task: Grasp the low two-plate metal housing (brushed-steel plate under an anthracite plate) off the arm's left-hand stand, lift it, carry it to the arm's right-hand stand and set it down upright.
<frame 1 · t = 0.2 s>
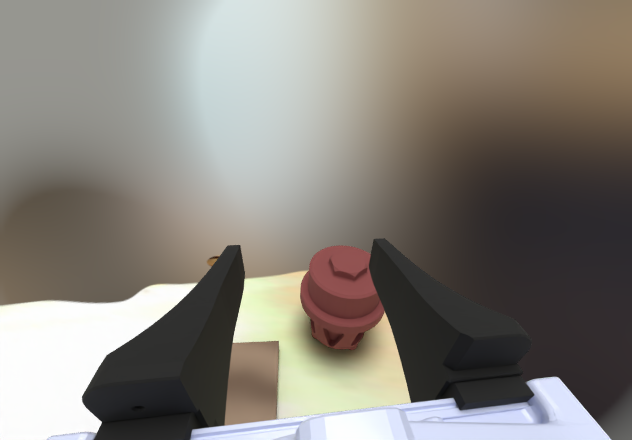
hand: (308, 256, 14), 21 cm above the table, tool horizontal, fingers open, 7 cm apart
stand 1: (223, 396, 26), on the table
mechanical component: (335, 332, 34), on the table
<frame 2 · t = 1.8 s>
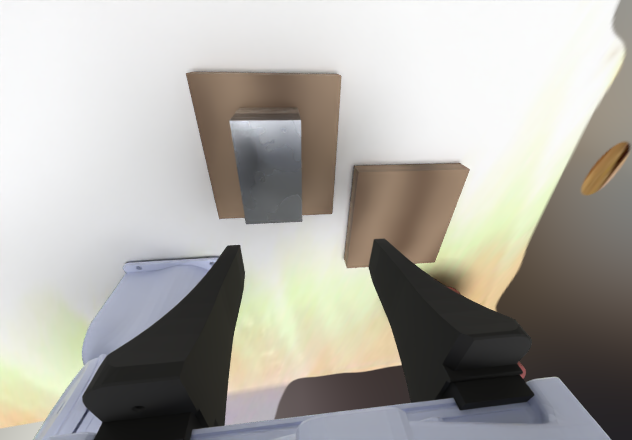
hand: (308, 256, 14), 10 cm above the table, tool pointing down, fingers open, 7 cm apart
stand 1: (396, 215, 26), on the table
stand 2: (272, 150, 21), on the table
housing: (272, 156, 20), point 1 cm above the table, touching stand 2
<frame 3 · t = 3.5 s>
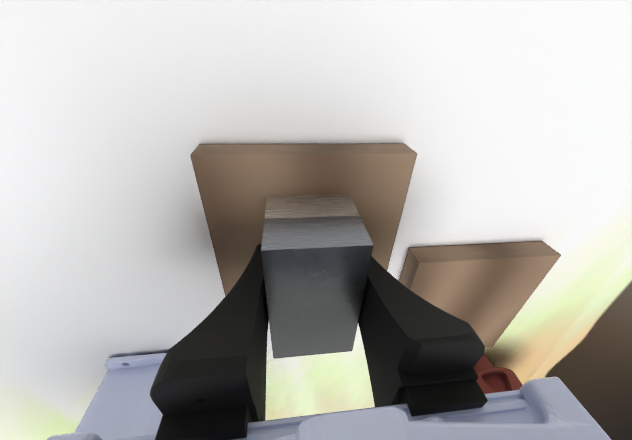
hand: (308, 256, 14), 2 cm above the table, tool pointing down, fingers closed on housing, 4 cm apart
stand 1: (451, 296, 21), on the table
stand 2: (305, 234, 15), on the table
mechanical component: (470, 367, 29), on the table
housing: (307, 250, 14), point 1 cm above the table, touching gripper, stand 2
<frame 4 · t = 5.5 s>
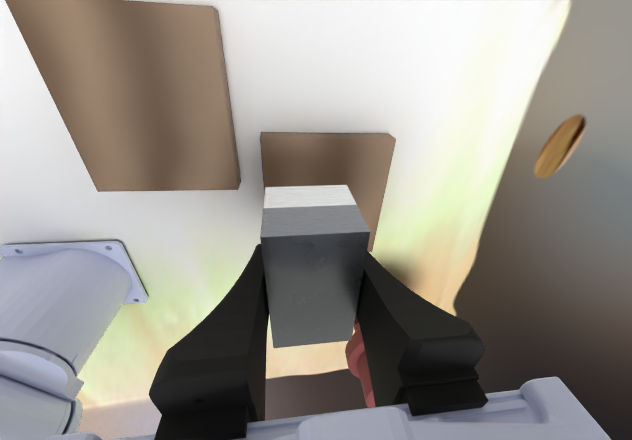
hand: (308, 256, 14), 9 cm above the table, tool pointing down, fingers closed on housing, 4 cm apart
stand 1: (323, 195, 23), on the table
stand 2: (155, 108, 17), on the table
mechanical component: (373, 288, 31), on the table
housing: (306, 242, 14), point 9 cm above the table, touching gripper
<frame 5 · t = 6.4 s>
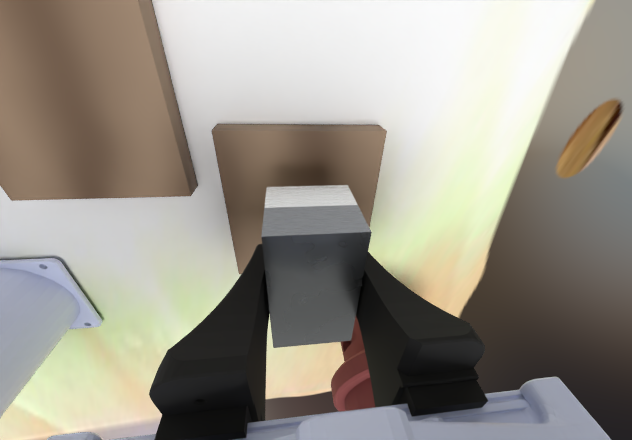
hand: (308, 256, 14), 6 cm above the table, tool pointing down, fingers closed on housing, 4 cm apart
stand 1: (301, 201, 19), on the table
stand 2: (76, 94, 13), on the table
mechanical component: (366, 305, 27), on the table
housing: (307, 241, 14), point 5 cm above the table, touching gripper
when the fingers open (3 cm above the table, at t = 7.3 s): housing stays where it is, resting on stand 1.
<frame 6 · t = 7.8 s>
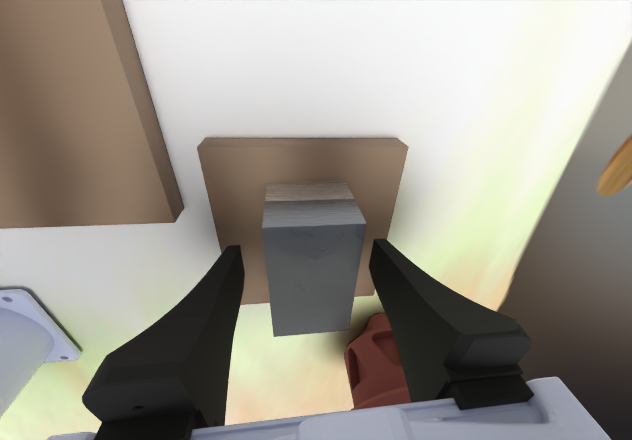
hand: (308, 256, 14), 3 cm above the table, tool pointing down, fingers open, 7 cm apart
stand 1: (304, 224, 16), on the table
stand 2: (31, 103, 11), on the table
mechanical component: (375, 331, 24), on the table
housing: (306, 235, 15), point 1 cm above the table, touching stand 1
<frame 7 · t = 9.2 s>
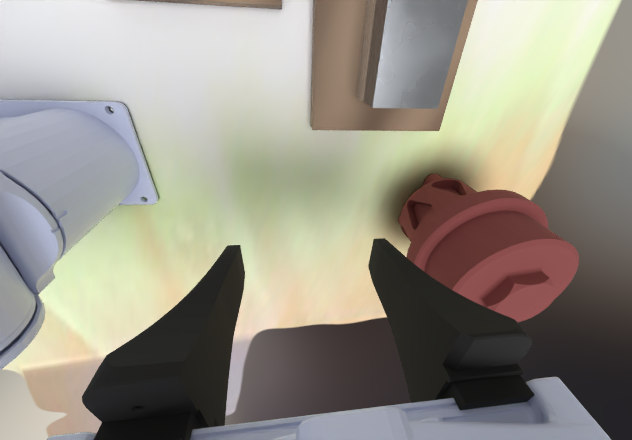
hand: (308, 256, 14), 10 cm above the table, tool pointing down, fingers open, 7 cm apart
stand 1: (384, 43, 17), on the table
mechanical component: (426, 202, 26), on the table
housing: (392, 37, 16), point 1 cm above the table, touching stand 1
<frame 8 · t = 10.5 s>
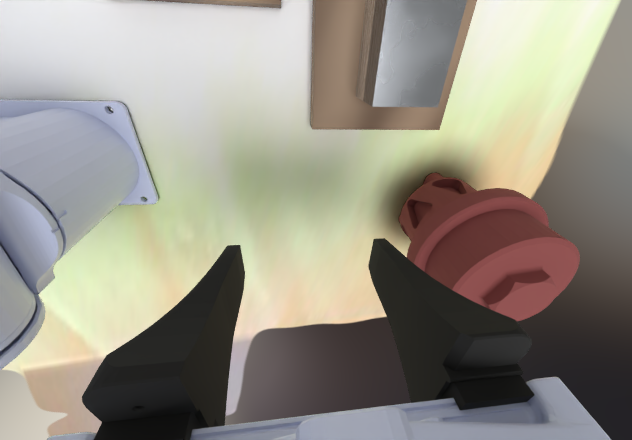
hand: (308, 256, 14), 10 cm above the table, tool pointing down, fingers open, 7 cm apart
stand 1: (384, 42, 17), on the table
mechanical component: (426, 201, 26), on the table
housing: (392, 36, 16), point 1 cm above the table, touching stand 1
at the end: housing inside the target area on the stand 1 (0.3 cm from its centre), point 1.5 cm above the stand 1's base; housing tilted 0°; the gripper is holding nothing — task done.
